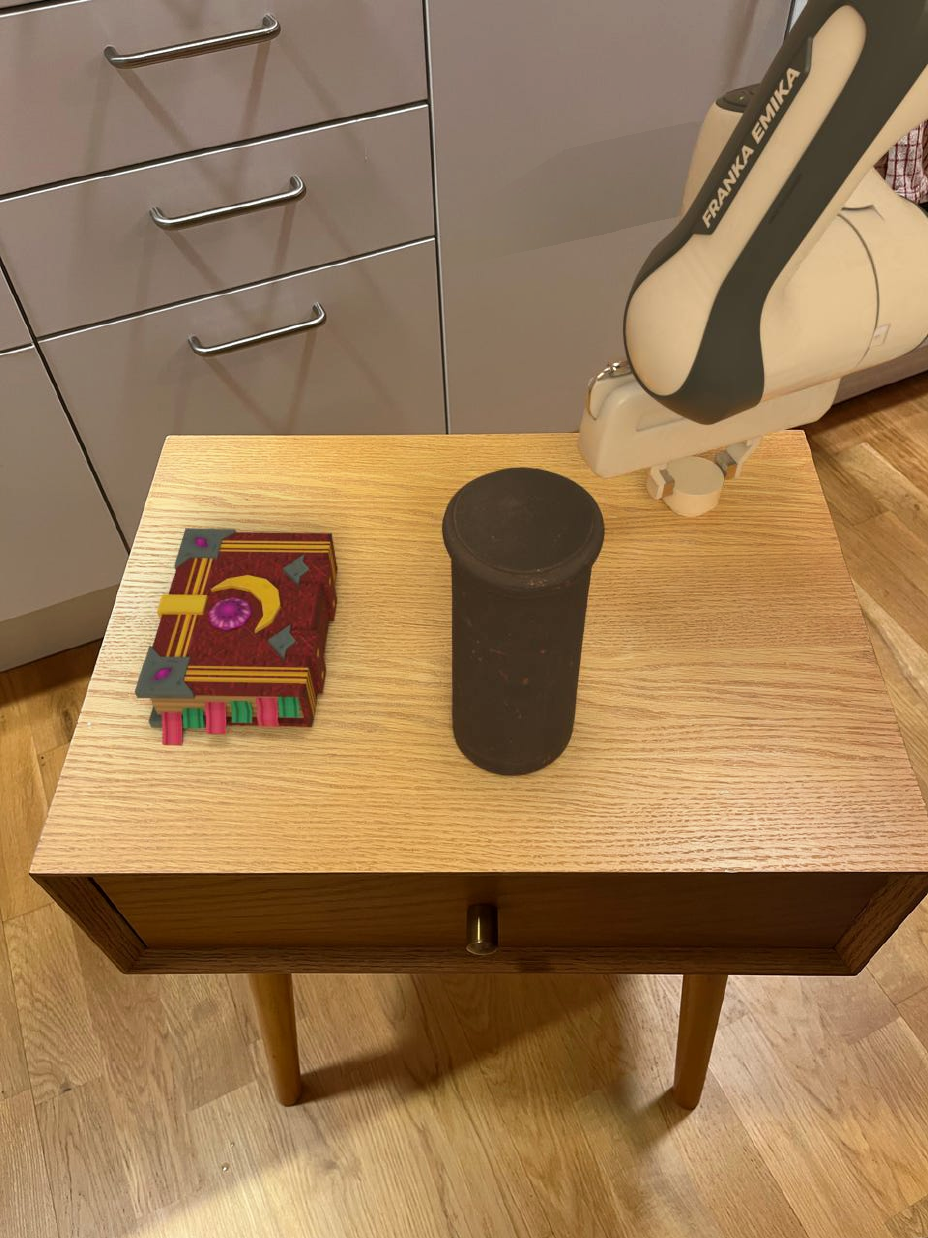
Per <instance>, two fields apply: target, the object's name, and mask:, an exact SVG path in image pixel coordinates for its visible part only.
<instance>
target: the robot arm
mask: <svg viewBox="0 0 928 1238" xmlns="http://www.w3.org/2000/svg"><path fill="white" fill-rule="evenodd" d="M927 120H928V0H808V1H807V2H806V4H805V5H804V7H803V8H802V11H801V12H800V13H799V15H798V17H797V18H796V20H795V21H794V24H793V25H792V27H791V28H790V31H789V32H788V34H787V36H786V37H785V39H784V41H783V42H782V44H781V46H780V48H779V49H778V51H777V53H776V54H775V57H774V58H773V60H772V62H771V63H770V65H769V67H768V69H767V70H766V72H765V74H764V75H763V77H762V79H761V80H760V82H759V83H754V84H750V85H746V86H742V87H738V88H735V89H732V90H729V91H727V92H726V93H725V94H723V95H722V96H720V97H719V98H717V99H716V100H715V101H714V102H713V103H712V105H711V106H710V108H709V109H708V111H707V113H706V115H705V118H704V120H703V121H702V124H701V127H700V129H699V132H698V135H697V139H696V142H695V144H694V148H693V152H692V156H691V159H690V163H689V167H688V170H687V171H688V172H687V176H686V180H685V184H684V191H683V195H682V202H681V205H680V206H681V207H680V211H679V217H678V224H677V225H676V226H675V227H674V228H673V229H672V230H671V231H670V232H669V233H668V234H667V235H666V236H665V237H663V238H662V240H660V241H659V242H658V243H657V244H656V245H655V246H654V247H653V249H652V250H651V251H650V253H649V254H648V256H647V257H646V259H645V260H644V262H643V264H642V266H641V267H640V269H639V270H638V273H637V274H636V275H635V276H636V277H635V278H634V281H633V283H632V286H631V288H630V291H629V294H628V297H627V300H626V304H625V307H624V312H623V318H622V339H623V347H624V352H625V356H623V357H618V358H615V359H612V360H610V361H609V362H608V363H607V365H606V367H605V368H603V369H601V370H600V371H599V372H597V373H596V375H595V376H593V377H591V378H590V379H589V382H588V384H587V388H586V397H585V405H584V409H583V413H582V417H581V421H580V426H579V429H578V430H579V431H578V437H577V442H576V443H577V444H576V445H577V451H578V453H579V455H580V458H582V460H583V461H584V463H585V464H586V466H587V467H588V468H589V469H590V471H592V472H593V473H594V474H595V476H597V477H599V478H600V479H601V480H609V479H612V478H616V477H620V476H624V475H627V474H630V473H634V472H638V471H641V470H645V471H646V473H647V476H646V481H645V488H646V491H647V493H648V494H649V496H650V497H651V499H653V500H654V501H658V500H661V499H662V498H664V497H668V496H671V495H672V494H673V491H672V489H673V488H674V485H675V480H674V479H673V478H672V476H670V475H668V471H667V470H666V468H667V464H668V463H669V462H670V461H674V460H678V459H681V458H685V457H688V456H695V455H699V454H703V453H706V452H709V451H713V450H717V449H720V448H724V450H721V451H718V452H715V455H714V461H713V463H715V464H716V465H717V466H718V467H719V468H720V469H721V470H722V472H723V474H724V481H727V480H732V479H734V478H738V477H740V476H741V472H742V470H743V465H744V462H746V461H747V459H748V458H749V457H750V456H751V455H752V454H753V453H754V452H755V451H756V449H757V448H758V447H759V446H760V445H761V444H762V440H763V437H765V436H768V435H772V434H776V433H779V432H781V431H785V430H789V429H792V428H797V427H799V426H804V425H808V424H811V423H814V422H817V421H819V420H820V419H821V418H822V417H823V416H824V415H825V414H826V413H827V412H828V411H829V410H830V409H831V407H832V405H833V403H834V400H835V398H836V396H837V392H838V389H839V386H840V382H841V379H842V377H844V376H847V375H850V374H853V373H857V372H861V371H864V370H867V369H869V368H872V367H876V366H879V365H882V364H885V363H887V362H890V361H892V360H894V359H896V358H900V357H902V356H906V355H908V354H910V353H912V352H913V351H915V350H917V349H918V348H919V347H920V346H921V345H923V343H924V342H925V341H926V340H927V339H928V212H927V211H926V209H924V208H923V207H922V206H920V205H919V204H918V203H916V202H915V201H913V200H912V199H910V198H907V197H906V196H904V195H902V194H900V193H897V192H896V191H895V190H894V189H893V187H891V186H890V184H889V183H888V182H887V181H886V180H885V179H884V178H883V176H882V175H881V174H880V173H879V172H878V171H877V169H876V168H875V167H874V166H875V165H876V164H877V163H878V162H879V161H880V160H881V158H883V156H884V155H886V154H887V153H888V151H890V150H891V149H892V148H893V147H894V146H895V145H896V144H897V143H898V142H900V141H901V140H902V139H903V138H905V136H907V135H908V134H909V133H911V132H912V131H914V130H915V129H916V128H917V127H919V126H920V125H921V124H923V123H924V122H926V121H927Z"/></svg>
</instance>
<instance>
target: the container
mask: <svg viewBox="0 0 928 1238" xmlns="http://www.w3.org/2000/svg"><path fill="white" fill-rule="evenodd" d="M605 527H606V526H605V521H604V516H603V513H602V510H601V508H600V506H599V504H598V502H597V501H596V500H595V498H594V497H593V496H592V495H591V493H589V492H588V491H587V490H586V489H585V488H584V487H583V486H581V485H580V484H579V483H577V482H576V481H574V480H573V479H571V478H569V477H566V476H564V475H561V474H559V473H556V472H553V471H549V470H546V469H542V468H534V467H523V466H521V467H520V466H519V467H507V468H502V469H499V470H495V471H491V472H488V473H485V474H482V475H480V476H477V477H476V478H473V479H472V480H470V481H468V482H467V483H465V484H464V485H463V486H462V487H461V488H460V489H458V490H457V491H456V492H455V493H454V495H453V496H452V497H451V499H450V500H449V502H448V503H447V505H446V508H445V510H444V514H443V516H442V523H441V534H442V540H443V545H444V548H445V549H446V552H447V555H448V557H449V558H450V571H451V572H450V575H451V719H452V732H453V737H454V740H455V741H454V742H455V743H456V745H457V747H458V749H459V750H460V752H461V753H462V754H463V756H464V757H465V758H466V760H468V761H469V762H470V763H472V764H473V765H474V766H476V767H478V768H479V769H481V770H483V771H486V772H488V773H491V774H495V775H498V776H506V777H516V776H517V777H518V776H525V775H529V774H533V773H536V772H538V771H540V770H542V769H545V768H546V767H548V766H549V765H551V764H552V763H554V762H555V761H556V760H558V759H559V757H560V756H561V755H562V754H563V752H565V750H566V748H567V746H568V745H569V743H570V740H571V738H572V735H573V732H574V725H575V720H576V719H575V718H576V710H577V697H578V685H579V678H580V669H581V662H582V661H581V660H582V651H583V641H584V633H585V626H586V616H587V610H588V609H587V608H588V599H589V592H590V586H591V578H592V572H593V566H594V565H595V563H596V562H597V560H598V558H599V556H600V554H601V551H602V548H603V545H604V540H605V534H606V530H605V529H606V528H605Z"/></svg>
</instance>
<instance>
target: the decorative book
mask: <svg viewBox="0 0 928 1238" xmlns="http://www.w3.org/2000/svg"><path fill="white" fill-rule="evenodd" d="M334 545H335V544H334V539H333V533H332V532H264V531H263V532H261V531H260V532H259V531H258V532H255V531H253V532H252V531H250V532H248V531H247V532H246V531H237V530H236V529H235V528H195V527H194V528H193V527H192V528H190V527H189V528H188V527H185V529H184V532H183V535H182V539H181V542H180V545H179V549H178V551H177V555H176V559H175V562H174V565H173V567H174V570H175V572H174V575H173V578H172V581H171V584H170V587H169V591H168V593H166V594H165V593H164V594H161V598H160V601H159V604H158V607H157V610H156V613H157V616H158V619H159V623H158V627H157V630H156V633H155V637H154V640H153V643H152V645H148V648H147V651H146V654H145V658H144V661H143V664H142V667H141V670H140V674H139V677H138V679H137V683H136V685H135V688H134V694H135V696H136V698H137V699H150V701H151V704H152V709H151V712H150V715H149V718H148V723H149V726H150V728H151V729H152V728H154V729H159V728H160V729H162V731H161V732H162V740H161V745H162V746H183V729H205V735H223V736H224V735H227V726H229V727H230V726H233V727H234V726H239V727H263V728H265V727H267V728H268V727H270V728H279V727H285V728H286V727H287V728H288V727H291V728H312V727H313V723H314V717H315V712H316V704H317V698H318V694H323V693H324V687H325V681H326V680H325V679H326V674H327V667H326V661H325V657H324V655H325V649H326V642H327V636H328V630H329V624H330V622H335V617H336V610H337V605H338V597H337V592H336V581H337V573H338V563H337V557H336V552H335V546H334Z"/></svg>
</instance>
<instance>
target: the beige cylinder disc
mask: <svg viewBox="0 0 928 1238" xmlns="http://www.w3.org/2000/svg"><path fill="white" fill-rule="evenodd" d="M666 470H667V471H668V475H670V476H672V478H673V479H674V480H675V485H674V488H673V489H672V491H673V494H672V495H671V496H668V497H664V498H661V499H662V501H663V502H664V504H666V506H668V508H669V509H670V510H671V511H672V512H673V513H675V514H676V515H679V516H682V517H687V518H696V517H700V516H702V515H704V514H705V513H708V512H709V511H711V510H713V509H714V508H716V506H717V505H718V504H719V502H720V500H721V495H722V493H723V492H722V491H723V487H724V483H725V480H724V474H723V472H722V470H721V469H720V468H719V467H718V466H717V465H716V464H715V463H714V461H712V460H710V459H708V458H705V457H701V456H695V455H692V456H688V457H685V458H681V459H678V460H674V461H670V462H668V463H667V468H666Z"/></svg>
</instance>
